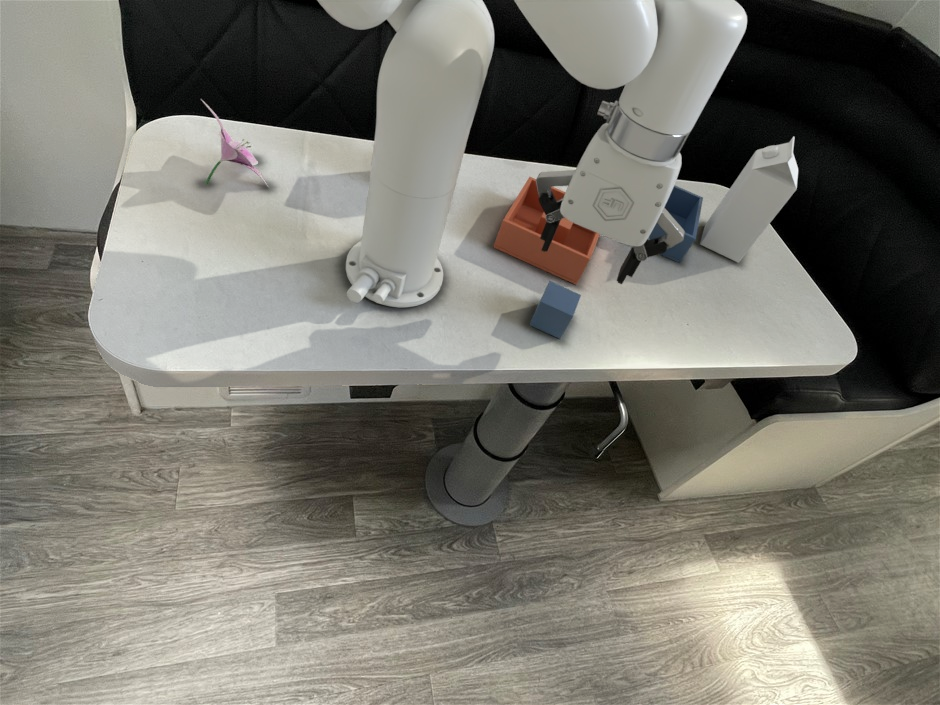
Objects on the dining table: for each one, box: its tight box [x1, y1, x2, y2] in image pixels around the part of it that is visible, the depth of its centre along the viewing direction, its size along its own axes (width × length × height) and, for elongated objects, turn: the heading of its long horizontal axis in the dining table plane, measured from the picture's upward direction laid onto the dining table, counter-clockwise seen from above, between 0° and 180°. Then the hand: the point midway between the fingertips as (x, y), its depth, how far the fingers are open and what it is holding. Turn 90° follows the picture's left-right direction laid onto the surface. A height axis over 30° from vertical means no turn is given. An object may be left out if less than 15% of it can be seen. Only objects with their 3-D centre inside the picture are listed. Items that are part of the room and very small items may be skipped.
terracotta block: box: [535, 213, 573, 244], centre depth 87 cm, size 4×4×4 cm
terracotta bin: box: [493, 176, 601, 286], centre depth 87 cm, size 13×13×5 cm
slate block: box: [528, 280, 582, 340], centre depth 77 cm, size 4×4×4 cm
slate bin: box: [649, 184, 704, 264], centre depth 97 cm, size 13×13×5 cm
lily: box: [200, 98, 269, 187], centre depth 78 cm, size 12×12×10 cm
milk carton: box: [699, 136, 799, 264], centre depth 94 cm, size 7×7×19 cm
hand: (583, 260), depth 71 cm, fingers open, 9 cm apart
